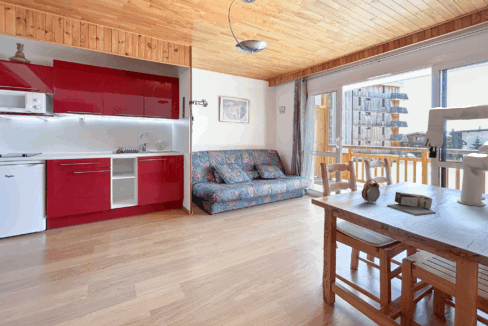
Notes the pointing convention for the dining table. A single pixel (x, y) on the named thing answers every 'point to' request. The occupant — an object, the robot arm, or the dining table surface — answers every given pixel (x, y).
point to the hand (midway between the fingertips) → (432, 157)
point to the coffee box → (413, 200)
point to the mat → (411, 209)
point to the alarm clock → (371, 192)
